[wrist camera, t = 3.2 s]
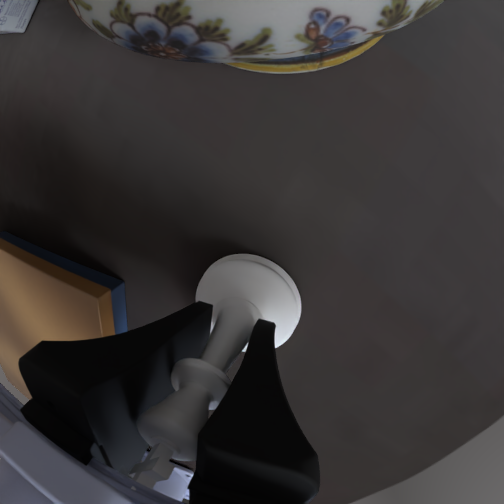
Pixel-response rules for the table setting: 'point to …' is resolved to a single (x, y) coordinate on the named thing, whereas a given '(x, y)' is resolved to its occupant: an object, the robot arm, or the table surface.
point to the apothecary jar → (250, 29)
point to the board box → (51, 302)
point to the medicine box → (15, 15)
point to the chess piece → (215, 356)
